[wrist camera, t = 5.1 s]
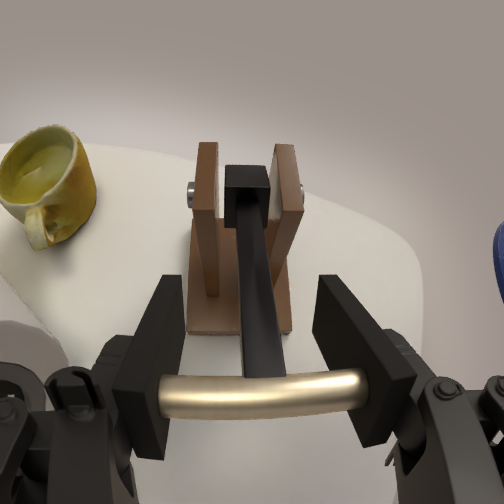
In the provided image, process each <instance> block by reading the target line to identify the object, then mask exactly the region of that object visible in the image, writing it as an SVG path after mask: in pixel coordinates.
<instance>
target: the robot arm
mask: <svg viewBox="0 0 504 504" xmlns="http://www.w3.org/2000/svg"><path fill="white" fill-rule="evenodd" d="M312 333H313V336H314V338H315V340H316V342H317V344H318V347H319V349H320V351H321V353H322V355H323V358H324V360H325V362H326V364H327V367H328V369H329V371H333V370H342V369H351V368H362V369H363V370H364V371H365V372H366V374H367V377H368V381H369V390H370V391H369V399H368V402H367V404H366V405H365V406H364V407H362V408H358V409H352V410H347V412H348V414H349V416H350V419H351V421H352V423H353V426H354V428H355V430H356V433H357V435H358V437H359V440H360V442H361V444H362V447H363V448H367V447H371V446H376V445H380V444H384V443H386V442H387V440H388V438H389V436H390V435H391V433H392V431H393V432H394V434H395V436H396V438H397V439H398V440H397V442H396V443H395V445H394V447H393V449H392V450H391V452H390V454H389V455H388V457H387V459H386V460H385V466H388V465H389V464H390V462H391V461H392V459H393V457H394V464H393V466H395V471H396V480H397V489H398V500H399V504H504V437H503V438H502V440H501V441H500V442H499V444H495V443H494V442H493V441H492V440H493V438H494V437H495V436H496V434H497V433H498V432H499V430H500V431H501V432H502V433H503V435H504V376H499V375H498V376H493V377H491V378H490V379H489V380H488V382H487V383H486V385H485V387H484V389H483V390H465V389H464V388H463V387H462V385H461V384H459V383H458V382H457V381H455V380H453V379H451V378H448V377H437V376H436V375H435V374H434V373H433V372H432V371H431V369H430V368H429V367H428V366H427V364H426V363H425V362H424V361H423V360H422V358H421V357H420V356H419V355H418V354H417V353H416V351H415V350H414V349H413V348H412V346H410V344H409V343H408V342H407V341H406V339H405V338H404V337H403V336H402V335H400V334H399V333H397V332H395V331H394V330H392V329H383V330H382V329H381V327H380V326H379V325H378V324H377V322H376V321H375V320H374V319H373V318H372V316H371V315H370V314H369V313H368V311H367V310H366V309H365V308H364V307H363V305H362V304H361V303H360V302H359V301H358V299H357V298H356V297H355V296H354V295H353V293H352V292H351V291H350V290H349V289H348V287H347V286H346V285H345V284H344V283H343V282H342V280H341V279H340V278H339V277H338V276H337V275H319V281H318V289H317V297H316V305H315V313H314V320H313V327H312ZM185 335H186V331H185V319H184V306H183V291H182V275H162V277H161V279H160V281H159V283H158V285H157V287H156V289H155V292H154V294H153V296H152V298H151V300H150V302H149V304H148V306H147V308H146V310H145V312H144V315H143V317H142V319H141V321H140V323H139V325H138V328H137V330H136V332H135V334H134V336H127V335H115V336H114V337H113V338H111V339H110V340H109V341H108V342H106V343H105V345H104V347H103V349H102V351H101V352H100V355H99V356H98V358H97V360H96V364H94V365H93V367H92V369H91V370H88V369H86V368H83V367H75V366H72V367H66V368H62V369H60V370H58V371H55V372H54V373H52V374H51V375H50V376H49V377H48V378H47V379H46V381H45V383H44V385H43V386H44V388H45V390H46V392H47V395H48V397H49V399H50V401H51V403H52V405H53V407H54V409H55V410H52V411H29V409H28V407H27V405H26V404H25V403H24V401H23V400H21V399H19V398H17V397H4V398H0V504H139V501H138V495H137V489H136V483H135V477H134V470H133V467H132V464H131V462H130V456H131V452H132V448H133V449H134V452H135V454H136V456H137V458H145V459H153V460H163V461H164V457H165V450H166V443H167V437H168V430H169V424H170V418H163V417H161V416H160V414H159V410H158V403H157V389H158V382H159V378H160V376H161V375H163V374H166V375H178V371H179V366H180V361H181V355H182V350H183V345H184V340H185ZM18 469H19V470H18Z"/></svg>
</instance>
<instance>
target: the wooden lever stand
mask: <svg viewBox="0 0 504 504" xmlns="http://www.w3.org/2000/svg"><path fill="white" fill-rule="evenodd" d="M269 182H270V186H271V194H270V204H269V215H268V225H267V229H264V235H265V241H266V247H267V254H268V260H269V266H270V272H271V278H272V285H273V291H274V297H275V304H276V310H277V316H278V323H279V329H280V334H290V332H291V331H292V319H291V306H290V293H289V281H288V270H287V258H286V257H287V255H288V252H289V250H290V247H291V245H292V242H293V239H294V237H295V234H296V232H297V229H298V227H299V224H300V221H301V219H302V216H303V213H304V206H303V204H304V188H303V185H302V184H300V181H299V174H298V168H297V163H296V157H295V151H294V146H293V145H288V144H275V148H274V153H273V159H272V164H271V170H270V175H269ZM187 204H188V208H192V211H193V219H192V230H191V244H190V259H189V277H188V298H187V326H186V331H187V333H188V335H240V324H239V302H238V277H237V251H236V228H224V218H219V180H218V143H217V142H200V143H199V148H198V157H197V166H196V175H195V182H189V183H188V187H187Z"/></svg>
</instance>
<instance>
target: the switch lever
mask: <svg viewBox="0 0 504 504" xmlns="http://www.w3.org/2000/svg"><path fill="white" fill-rule="evenodd" d="M270 194H271V186H270V182H269V178H268V174H267V171H266V167H265V166H260V165H259V166H258V165H226V166H225V186H224V228H236V251H237V277H238V302H239V324H240V346H241V366H242V376H188V375H166V374H163V375H161V376H160V378H159V382H158V389H157V403H158V410H159V414H160V416H161V417H163V418H176V419H197V420H250V419H271V418H286V417H298V416H308V415H317V414H325V413H332V412H339V411H346V410H352V409H358V408H362V407H364V406H365V405H366V404H367V402H368V399H369V391H370V390H369V381H368V377H367V374H366V372H365V371H364V370H363V369H362V368H351V369H342V370H333V371H323V372H312V373H299V374H286V369H285V362H284V356H283V349H282V342H281V336H280V329H279V323H278V316H277V310H276V304H275V297H274V291H273V285H272V278H271V272H270V266H269V260H268V254H267V247H266V241H265V235H264V229H267V225H268V215H269V204H270Z"/></svg>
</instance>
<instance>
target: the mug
mask: <svg viewBox="0 0 504 504" xmlns="http://www.w3.org/2000/svg"><path fill="white" fill-rule="evenodd" d="M0 203H1V204H2V205H3V207H4V208H5V209H6V210H7V211H8V212H9V213H10V214H11V215H13V216H14V217H15V218H16V219H18V220H19V221H20V222H22V223H23V224H24V230H25V233H26V235H27V238H28V240H29V242H30V245H31V247H32V248H33V250H34V251H39V250H42V249H45V248H47V247H50V246H53V244H55V243H57V242H61V241H64V240H66V239H68V238H69V237H70V236H71V235H72V234H73V233H75V231H76V230H77V229H78V228H79V227H80V226H81V225H82V224H83V223H85V222H86V221H87V220H88V218H89V217H90V215H91V213H92V212H93V209H94V207H95V203H96V186H95V181H94V178H93V175H92V171H91V168H90V165H89V161H88V158H87V155H86V152H85V150H84V148H83V145H82V143H81V141H80V140H79V138H78V137H77V136H76V135H75V134H74V132H71V131H70V130H68V129H67V128H66V127H65V126H61V125H57V124H54V125H48V126H45V127H41V128H38V129H36V130H34V131H31V132H29V133H28V134H26V135H25V136H24V137H22V138H21V139H19V140H18V141H17V142H16V143H15V144H14V145H13V146H12V148H11V149H10V150H9V151H8V153H7V154H6V155H5V157H4V158H3V160H2V162H1V165H0Z"/></svg>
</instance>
